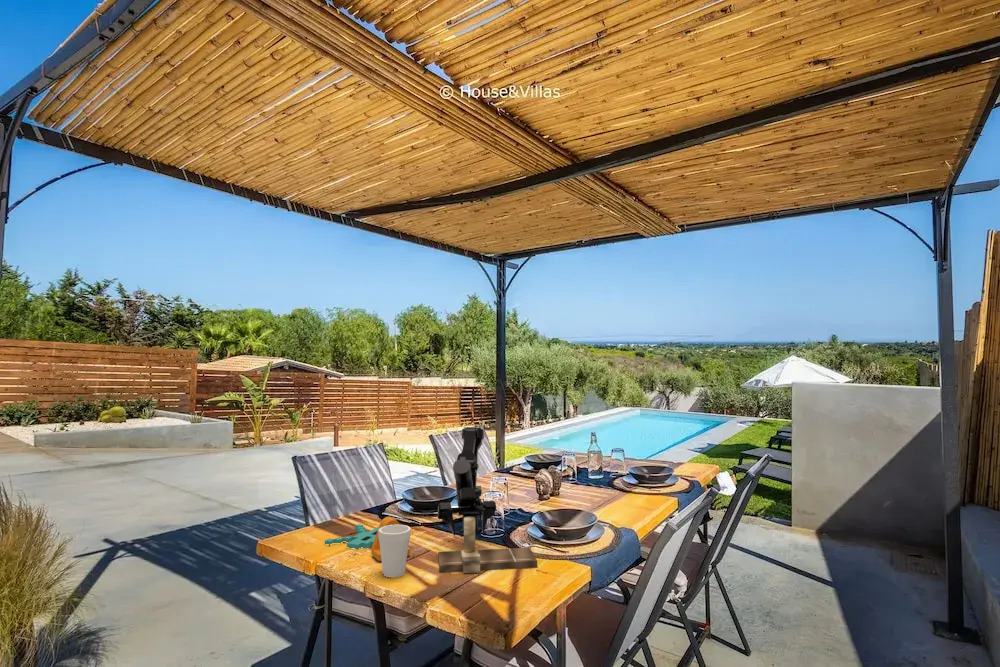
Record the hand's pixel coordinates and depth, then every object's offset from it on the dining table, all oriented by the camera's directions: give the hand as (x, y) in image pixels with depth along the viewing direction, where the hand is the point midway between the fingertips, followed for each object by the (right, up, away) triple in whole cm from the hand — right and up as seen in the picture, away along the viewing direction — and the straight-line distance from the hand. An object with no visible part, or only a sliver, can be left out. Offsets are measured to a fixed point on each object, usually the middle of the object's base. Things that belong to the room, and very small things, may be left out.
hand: (469, 534), depth 167 cm
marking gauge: (+1, -8, -4) cm, 9 cm away
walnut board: (+6, -9, 0) cm, 11 cm away
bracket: (-26, -9, +5) cm, 28 cm away
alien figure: (-38, -11, +21) cm, 45 cm away
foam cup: (-22, -9, -9) cm, 25 cm away
